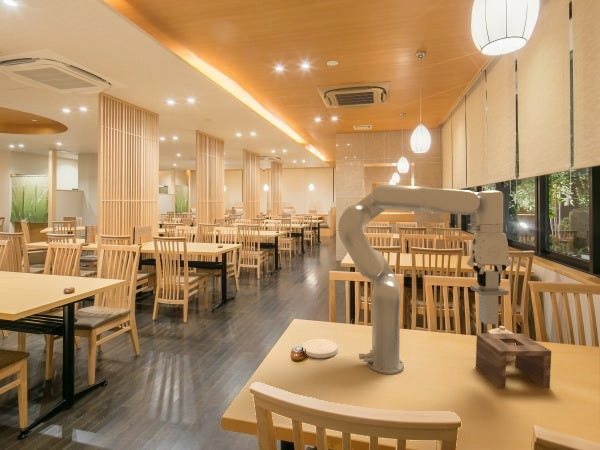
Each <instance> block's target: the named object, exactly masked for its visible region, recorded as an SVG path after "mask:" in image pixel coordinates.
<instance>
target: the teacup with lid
mask: <svg viewBox="0 0 600 450" xmlns="http://www.w3.org/2000/svg"><path fill="white" fill-rule="evenodd" d="M487 334H515V333H514V332H512V331H510V330H508V329H506V327H505V326H503V325H499V326H498V327H496V328H492V329H490V330H488V332H487ZM506 344H507V345H516V343H506ZM514 360H515V356H506V363H507V362H513V361H514Z"/></svg>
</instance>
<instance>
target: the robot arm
mask: <svg viewBox="0 0 600 450" xmlns="http://www.w3.org/2000/svg"><path fill="white" fill-rule="evenodd" d="M386 210H394V211H407V212H418V213H427V212H428V213H443V214H451V215H452V214H453V215H464V216H467V215H472V214H474V213H476V215H475V216H476V217H475V219H476V220H475V221H476V223H475V226H474V225H473V226H472V228H471V229H472V231H475V232H476V233H473V237H472V243H471V251H470V252H471V254H470V257H469V258H468V261H467V262H466V265H467V266H468V267H470V268H472V270H473V271H475V273H477V274H476V278H477V279H476V281H477V285H480V286H483V287H484V286H485V274H484V269H486V268H485V267H486V266H492V267H493V270H495V271H498V272H499V284H498V287H500V286H501V280H502V279H501V278H502V277H501V276H502V274H503V273H504V271H505V270H506V269H507V268H508V267H510V266H511V265H512V261H511V259H510V252H509V251H510V250H509V242H508V237H507V235H506V233H504V193H503V192H502V191H500V190H485V191H482V190H481V191H479V192H475V191H472V190H468V189H466V190H464V189H451V188H450V189H449V188H437V187H436V188H434V187H429V186H428V187H426V186H417V185H416V186H415V185H399V184H386V183H381V184H378V185H376V186H375V187H373V189H372V190H371V192H370V193H368V195H367V196H365V197H364V198H363V199H361V200H360V201H358V202H357V203H355V204H352V205H349V206H348V207H347V208H345V209H344V211H343V212H342V213H341V216H340V217H339V220H338V224H337V225H338V226H337V231H338V236H339V239H340V240H341V243H342V244H343V246H344V248H345V250H346V252H347V253H348V255H349V256H350V258H351V260H352V262H353V263H354V266H355V267H356V269H357V270H358V272H359V274H360V276H362V277H363V278H365V279H368V280H369V281H370V283H371V285H372V292H371V305H372V306H371V308H372V310H371V313H372V314H371V315H372V316H371V318H372V319H371V320H372V321H371V322H372V323H371V324H372V325H371V327H372V330H371V332H372V333H371V338H372V340H371V349H370V350H369V352H367V353H358V359H359V360H363V362H365V363H367V366H368V367H369V368H370V369H371V370H372V371H374V372H377V373H380V374H384V375H385V374H386V375H394V374H398V373H401V372H403V370H404V368H405V367H404V366H405V364H404V362H403V361H402V360H401V359H400V347H401V346H400V343H401V342H400V341H401V340H400V338H401V337H400V336H401V335H400V334H401V333H400V332H401V326H400V325H401V295H402V293H401V284H400V281H399V279H398V276H396V274H395V272H394V271H393V269H392V267H391V266H390V264H389V262H388V260H387V259H386V257H385V255H383V254H382V253H381V252H380V251H379V250H376V249H374V248H373V246H372V244H371V242H370V241H369V239H368V238H367V236H366V235H365V233H364V231H363V227H364V226H366V225H367V224H369V223H370V222H371V221H373V220H374V219H375V218H376V217H378V216H380V215H381V214H382V213H383V212H385V211H386Z"/></svg>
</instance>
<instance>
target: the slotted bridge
mask: <svg viewBox="0 0 600 450" xmlns="http://www.w3.org/2000/svg"><path fill="white" fill-rule="evenodd" d="M506 343H515V345H507V344H506ZM475 344H476V346H475V347H476V348H475V349H476V350H475V367H476V368H477V369H478V370H479V371H480V372H481V373H482V374H483V375H484V376H485V377H486V378H487V379H488V380H489V381H490V382H492V383H493V384H494V385H495V386H496V387H497V388H498V389H506V381H507V380H506V379H507V377H506V376H507V362H506V356H515V359H514V360H515V361H514V367H515V368H516V369H518V370H519V372H521V373H523V374H525V376H526V377H528V378H530V379H531V380H532V381H533V382H535V383H536V384H537V385H538V386H540V387H541V388H543V389H550V388H551V367H552V365H551V364H552V350H550V349H549V348H547V347H545V346H543V345H542V344H540V343H539V342H537V341H535V340H533V339H532V338H530V337H528V336H527V335H525V334H523V333H514V334H488V333H476V343H475Z"/></svg>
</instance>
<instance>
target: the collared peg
mask: <svg viewBox="0 0 600 450" xmlns="http://www.w3.org/2000/svg"><path fill="white" fill-rule="evenodd" d="M484 274H485V286H484V287H483V286H480V285H478V284H477V285H469V288H470V291H474V292H475V293H477V294H479V295H478V298H479V299H478V321H480V322H481V323H483V324H484V325H499V296H509V290H507V289H504V288H502V287H500V286H498V284H499V272H498V271H495V270H494V269H493V268H491V269H486V268H484Z"/></svg>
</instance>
